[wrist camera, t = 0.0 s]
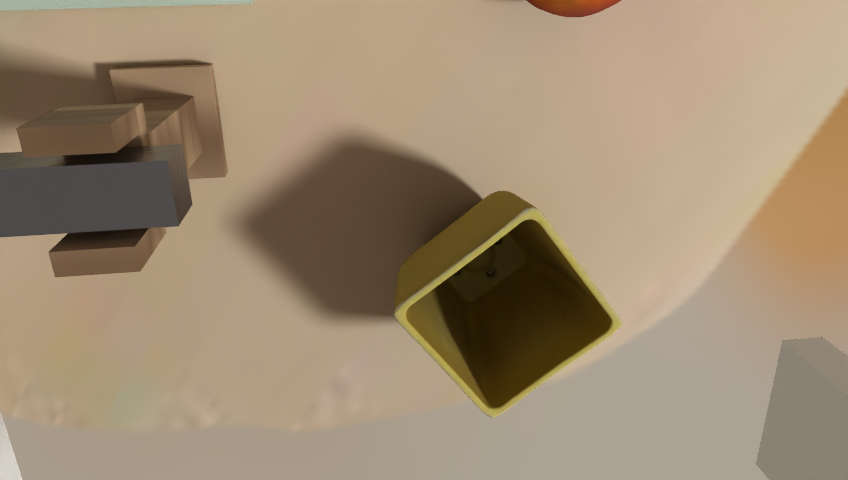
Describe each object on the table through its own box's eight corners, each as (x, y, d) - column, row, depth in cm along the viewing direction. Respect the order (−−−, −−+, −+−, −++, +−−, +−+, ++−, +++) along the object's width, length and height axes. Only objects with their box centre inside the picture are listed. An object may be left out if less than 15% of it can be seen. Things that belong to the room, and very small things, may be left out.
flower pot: (493, 155, 39) (535, 203, 31) (570, 257, 42) (627, 327, 34) (378, 243, 40) (389, 313, 32) (461, 337, 43) (491, 422, 35)
